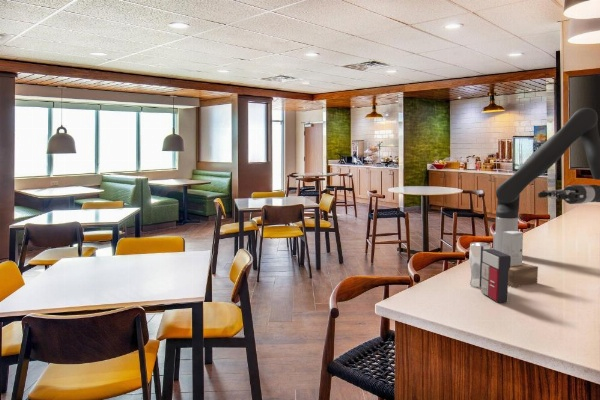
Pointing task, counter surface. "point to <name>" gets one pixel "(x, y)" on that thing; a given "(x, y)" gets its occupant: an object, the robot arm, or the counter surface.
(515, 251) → the skincare box
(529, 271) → the walnut block
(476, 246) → the beer glass
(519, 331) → the counter surface
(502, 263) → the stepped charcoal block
